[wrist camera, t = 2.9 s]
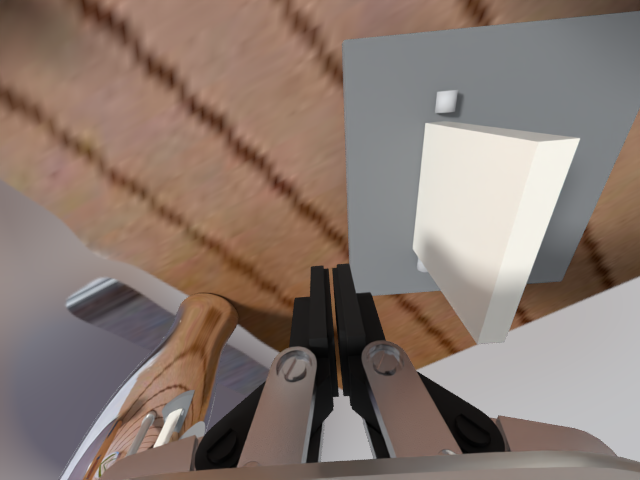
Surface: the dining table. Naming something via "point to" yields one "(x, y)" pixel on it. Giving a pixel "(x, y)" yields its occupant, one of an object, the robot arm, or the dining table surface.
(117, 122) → the dining table surface
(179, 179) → the dining table surface
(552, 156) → the tile
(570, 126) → the mat
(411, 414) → the robot arm
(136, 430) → the beer glass
